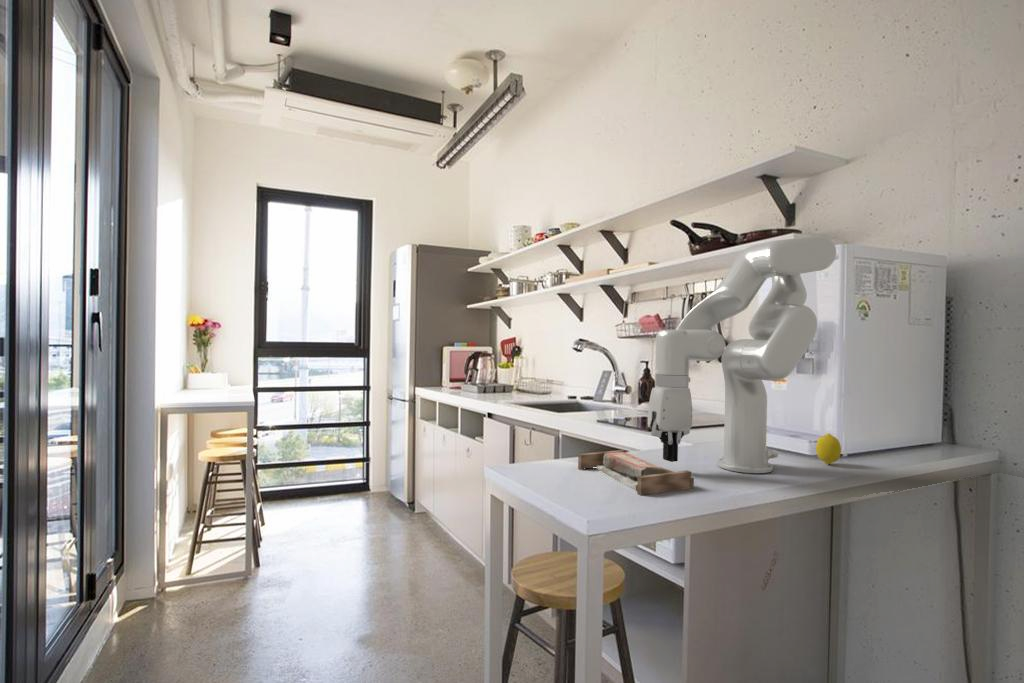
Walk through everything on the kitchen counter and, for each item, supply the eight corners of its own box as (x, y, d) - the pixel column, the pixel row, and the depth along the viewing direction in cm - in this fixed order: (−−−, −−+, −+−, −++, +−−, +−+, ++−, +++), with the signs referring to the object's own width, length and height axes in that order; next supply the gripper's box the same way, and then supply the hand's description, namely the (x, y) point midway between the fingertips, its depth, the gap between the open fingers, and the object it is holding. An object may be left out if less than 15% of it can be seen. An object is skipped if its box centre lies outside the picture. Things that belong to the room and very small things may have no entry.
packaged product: (595, 451, 127) (631, 449, 130) (594, 471, 127) (631, 469, 130) (635, 469, 110) (676, 466, 113) (635, 492, 110) (676, 489, 113)
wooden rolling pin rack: (625, 463, 134) (625, 449, 134) (693, 487, 113) (694, 471, 113) (578, 468, 128) (578, 454, 128) (641, 495, 107) (641, 477, 107)
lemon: (840, 468, 132) (841, 436, 132) (815, 465, 135) (815, 434, 135) (840, 464, 137) (841, 433, 137) (815, 461, 140) (816, 430, 140)
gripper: (684, 380, 131) (682, 454, 132) (635, 381, 125) (634, 459, 125) (707, 382, 125) (706, 461, 125) (657, 384, 118) (656, 466, 118)
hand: (670, 460), depth 125 cm, fingers closed
